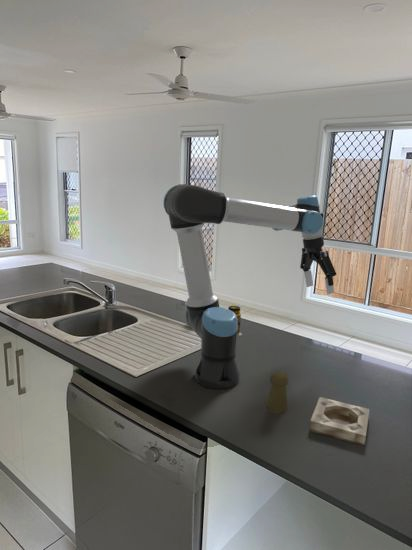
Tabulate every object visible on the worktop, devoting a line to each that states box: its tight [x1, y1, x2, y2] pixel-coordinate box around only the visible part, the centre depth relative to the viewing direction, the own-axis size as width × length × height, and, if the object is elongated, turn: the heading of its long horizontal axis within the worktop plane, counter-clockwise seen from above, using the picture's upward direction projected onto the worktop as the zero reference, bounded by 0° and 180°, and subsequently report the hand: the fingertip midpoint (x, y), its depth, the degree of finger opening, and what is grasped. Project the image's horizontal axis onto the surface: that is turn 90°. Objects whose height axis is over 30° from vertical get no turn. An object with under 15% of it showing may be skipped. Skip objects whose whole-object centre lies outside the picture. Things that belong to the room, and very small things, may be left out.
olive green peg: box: [266, 371, 289, 414], centre depth 118 cm, size 6×6×11 cm
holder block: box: [309, 396, 370, 447], centre depth 111 cm, size 14×14×3 cm
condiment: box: [227, 305, 243, 336], centre depth 176 cm, size 7×8×12 cm
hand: (319, 289), depth 156 cm, fingers open, 13 cm apart
